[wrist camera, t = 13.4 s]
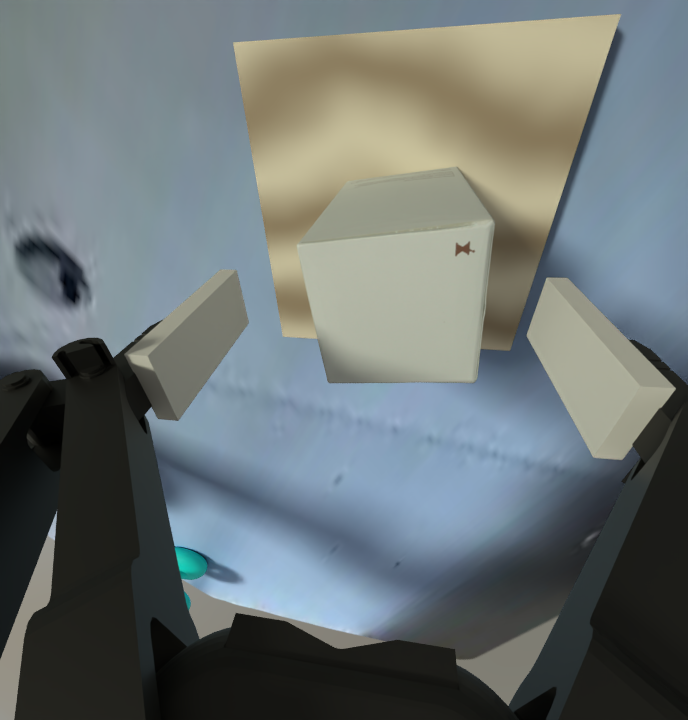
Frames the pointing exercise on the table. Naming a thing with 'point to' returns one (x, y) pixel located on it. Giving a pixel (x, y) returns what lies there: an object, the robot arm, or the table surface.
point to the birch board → (422, 134)
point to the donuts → (190, 566)
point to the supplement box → (400, 279)
